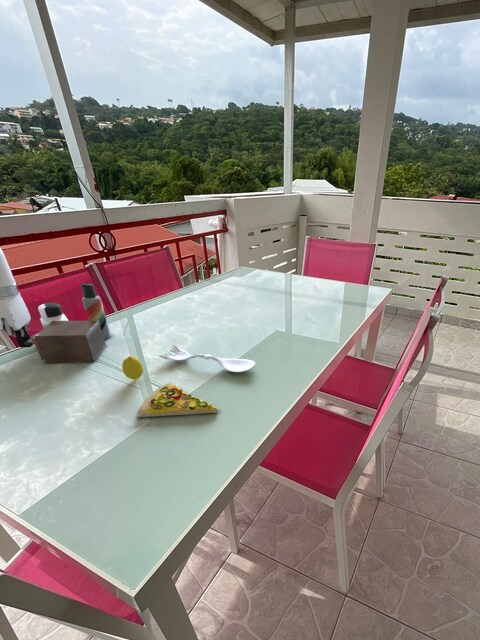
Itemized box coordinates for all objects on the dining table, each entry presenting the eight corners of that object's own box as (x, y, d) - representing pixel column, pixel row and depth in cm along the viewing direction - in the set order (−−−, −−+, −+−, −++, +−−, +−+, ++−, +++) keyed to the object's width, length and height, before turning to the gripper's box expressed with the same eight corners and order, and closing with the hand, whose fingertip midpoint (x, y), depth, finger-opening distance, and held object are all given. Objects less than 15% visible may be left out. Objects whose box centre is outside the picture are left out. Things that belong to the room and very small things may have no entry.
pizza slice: (164, 386, 100) (162, 378, 98) (229, 397, 97) (228, 389, 95) (132, 416, 87) (130, 407, 85) (205, 430, 84) (204, 421, 82)
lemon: (149, 378, 103) (143, 355, 98) (133, 386, 99) (127, 362, 94) (137, 373, 105) (131, 350, 101) (122, 380, 101) (115, 357, 97)
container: (71, 333, 127) (59, 299, 120) (75, 340, 122) (63, 305, 115) (47, 337, 123) (33, 303, 115) (50, 345, 118) (36, 309, 111)
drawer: (26, 360, 106) (16, 338, 102) (43, 345, 116) (34, 324, 111) (86, 359, 109) (79, 337, 105) (98, 344, 119) (91, 323, 114)
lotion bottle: (91, 338, 124) (73, 284, 113) (103, 333, 129) (86, 280, 117) (103, 341, 123) (86, 286, 111) (114, 335, 127) (99, 282, 116)
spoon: (174, 352, 118) (172, 343, 116) (259, 365, 113) (258, 356, 111) (160, 363, 111) (158, 354, 109) (250, 378, 106) (249, 369, 104)
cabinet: (45, 363, 107) (34, 336, 102) (62, 346, 117) (52, 321, 112) (94, 362, 110) (85, 335, 104) (106, 345, 120) (98, 320, 114)
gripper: (2, 283, 104) (25, 337, 115) (-28, 298, 92) (1, 356, 103) (29, 284, 106) (49, 337, 116) (2, 298, 94) (28, 356, 104)
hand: (26, 346), depth 109 cm, fingers closed
